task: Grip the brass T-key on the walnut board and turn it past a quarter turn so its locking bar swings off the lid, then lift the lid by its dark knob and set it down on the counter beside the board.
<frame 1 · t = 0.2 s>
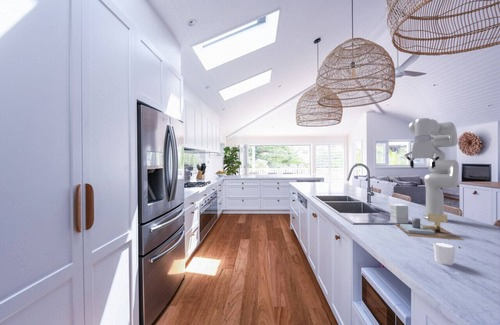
hand: (422, 168, 130), 37 cm above the worktop, tool pointing down, fingers open, 9 cm apart
board: (425, 233, 122), on the worktop
key: (434, 222, 122), point 6 cm above the worktop, hinge at 0.0°
shot glass: (443, 262, 89), on the worktop
lid: (416, 230, 124), point 1 cm above the worktop, touching board
supplement box: (399, 224, 141), on the worktop
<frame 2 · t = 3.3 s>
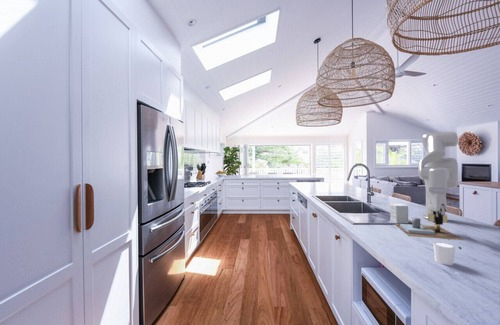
hand: (437, 223, 121), 6 cm above the worktop, tool pointing down, fingers closed on key, 2 cm apart
key: (434, 222, 122), point 6 cm above the worktop, hinge at 0.0°, touching gripper
everything else where it was.
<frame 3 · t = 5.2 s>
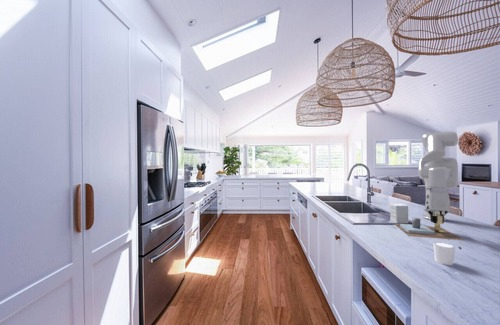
hand: (437, 222, 122), 7 cm above the worktop, tool pointing down, fingers closed on key, 3 cm apart
key: (438, 223, 120), point 6 cm above the worktop, hinge at 80.8°, touching gripper
everything else where it was.
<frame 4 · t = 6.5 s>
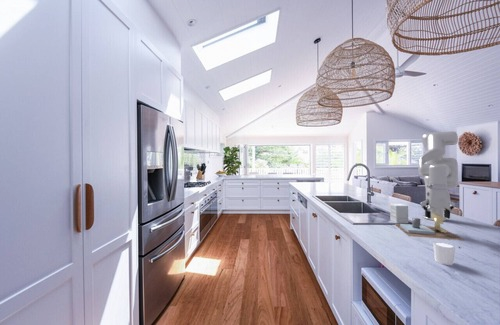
hand: (437, 217, 121), 9 cm above the worktop, tool pointing down, fingers open, 9 cm apart
key: (438, 223, 120), point 6 cm above the worktop, hinge at 86.8°
everything else where it was.
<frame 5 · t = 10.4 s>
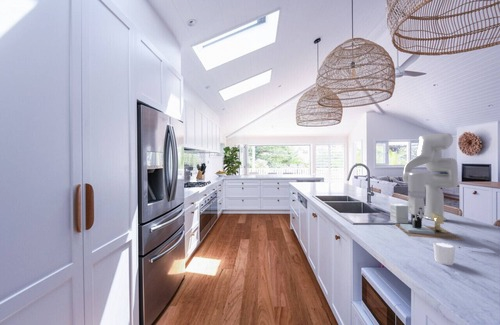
hand: (416, 226, 124), 4 cm above the worktop, tool pointing down, fingers closed on lid, 3 cm apart
key: (438, 223, 120), point 6 cm above the worktop, hinge at 88.0°
lid: (416, 230, 124), point 1 cm above the worktop, touching board, gripper
everything else where it was.
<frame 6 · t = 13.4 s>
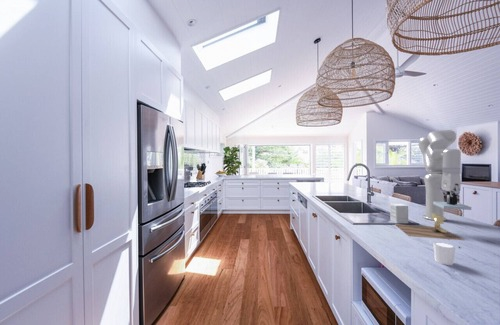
hand: (451, 202, 124), 17 cm above the worktop, tool pointing down, fingers closed on lid, 3 cm apart
lid: (451, 206, 124), point 15 cm above the worktop, touching gripper
everything else where it was.
when the fingers open (4 cm above the worktop, at t = 16.7 s): lid drops 2 cm, on the worktop.
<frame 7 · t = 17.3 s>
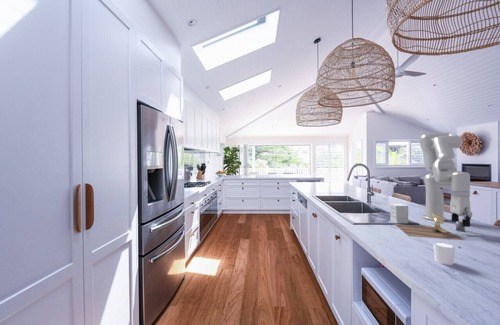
hand: (460, 224, 124), 5 cm above the worktop, tool pointing down, fingers open, 9 cm apart
lid: (460, 233, 124), on the worktop
everything else where it was.
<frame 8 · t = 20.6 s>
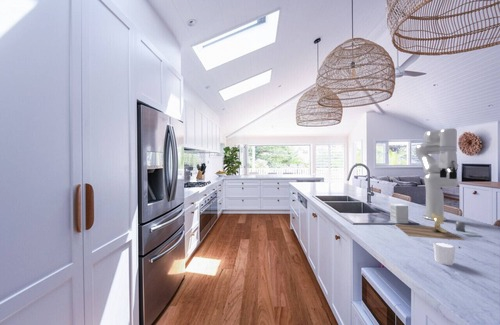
hand: (447, 178, 130), 30 cm above the worktop, tool pointing down, fingers open, 9 cm apart
nothing on the worktop moved.
at the end: key at +88° (first picture: +0°); lid inside the target area (0.1 cm from its centre), on the worktop; lid tilted 0° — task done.
